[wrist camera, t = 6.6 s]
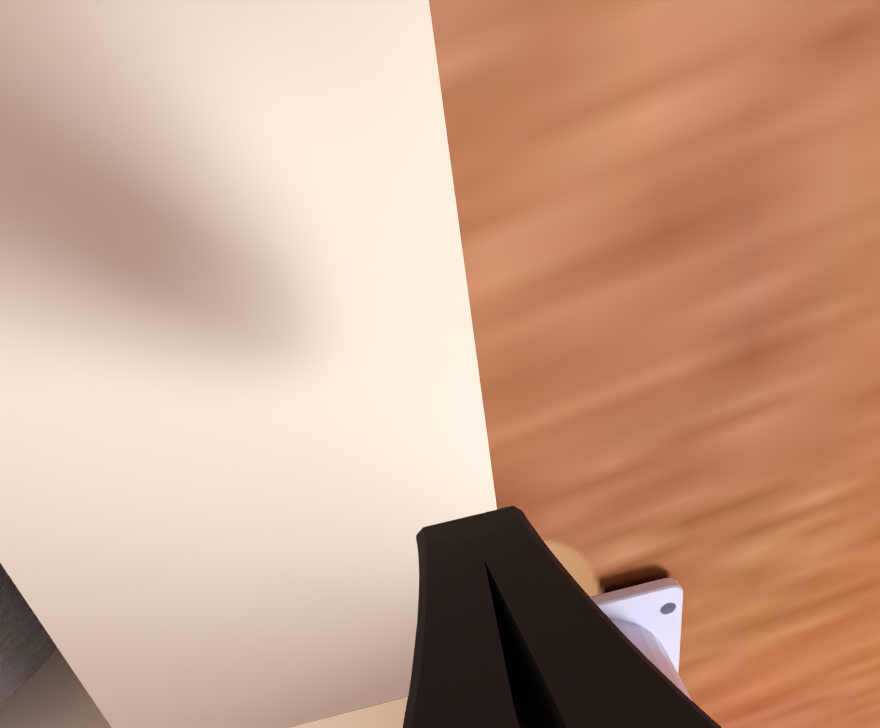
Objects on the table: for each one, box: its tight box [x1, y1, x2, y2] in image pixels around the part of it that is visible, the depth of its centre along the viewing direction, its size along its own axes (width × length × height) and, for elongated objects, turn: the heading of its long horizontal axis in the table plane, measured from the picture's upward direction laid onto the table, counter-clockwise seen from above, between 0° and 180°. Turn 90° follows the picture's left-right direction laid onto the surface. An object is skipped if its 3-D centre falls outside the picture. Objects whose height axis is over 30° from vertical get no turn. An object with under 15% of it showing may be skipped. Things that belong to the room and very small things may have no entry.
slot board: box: [0, 0, 497, 728], centre depth 14 cm, size 16×18×4 cm
